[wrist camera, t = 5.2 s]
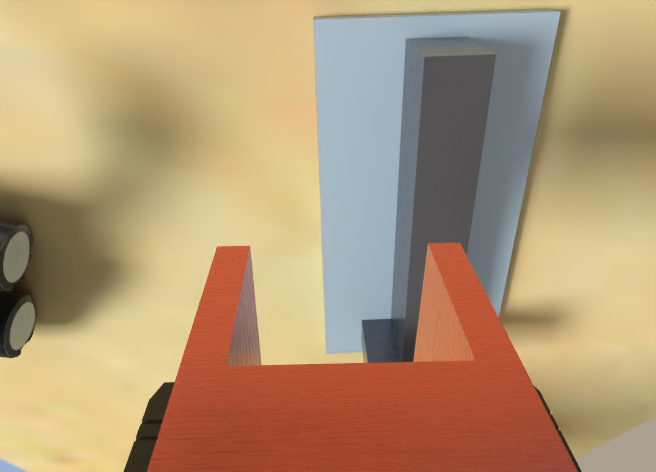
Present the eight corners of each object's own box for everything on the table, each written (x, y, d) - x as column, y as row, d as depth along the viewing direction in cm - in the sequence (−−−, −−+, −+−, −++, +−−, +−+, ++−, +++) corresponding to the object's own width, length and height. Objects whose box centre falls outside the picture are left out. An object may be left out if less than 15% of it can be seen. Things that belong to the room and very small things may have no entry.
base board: (313, 17, 24) (313, 19, 23) (551, 9, 24) (560, 11, 24) (325, 343, 36) (326, 353, 35) (488, 336, 36) (492, 346, 35)
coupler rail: (365, 40, 24) (388, 78, 17) (506, 35, 24) (585, 71, 17) (361, 341, 34) (374, 441, 27) (459, 337, 34) (497, 435, 27)
